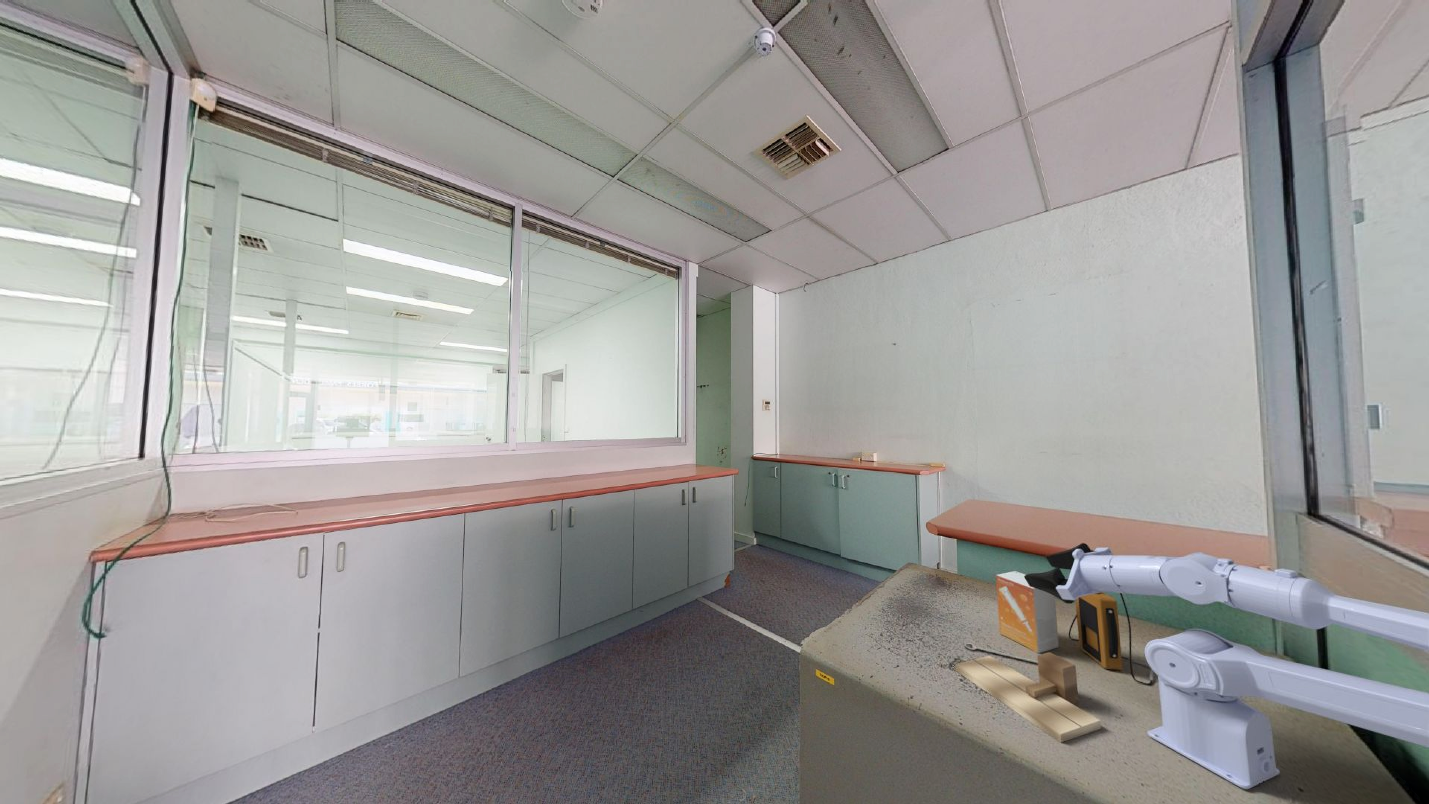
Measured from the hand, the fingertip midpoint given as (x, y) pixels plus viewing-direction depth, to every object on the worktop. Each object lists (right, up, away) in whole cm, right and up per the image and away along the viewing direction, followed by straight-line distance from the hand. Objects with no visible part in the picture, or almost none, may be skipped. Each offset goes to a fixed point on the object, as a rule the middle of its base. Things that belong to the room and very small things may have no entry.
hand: (1038, 570), depth 76 cm
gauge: (-6, -18, -9) cm, 21 cm away
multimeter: (+16, -18, 0) cm, 24 cm away
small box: (+4, -19, +8) cm, 21 cm away
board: (-10, -18, -9) cm, 22 cm away
